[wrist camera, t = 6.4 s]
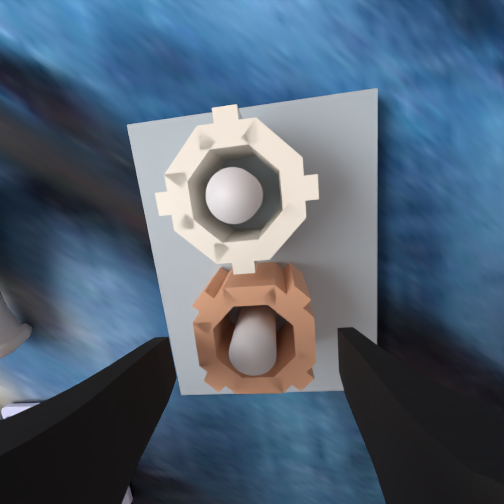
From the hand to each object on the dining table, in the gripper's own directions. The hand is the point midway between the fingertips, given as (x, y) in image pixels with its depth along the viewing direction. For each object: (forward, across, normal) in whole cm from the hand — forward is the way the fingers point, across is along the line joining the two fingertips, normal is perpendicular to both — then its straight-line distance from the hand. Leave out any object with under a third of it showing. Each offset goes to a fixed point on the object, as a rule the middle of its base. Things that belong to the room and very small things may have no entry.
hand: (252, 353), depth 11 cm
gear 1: (+4, 0, -6) cm, 8 cm away
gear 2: (+4, 0, 0) cm, 4 cm away
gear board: (+5, 0, -2) cm, 6 cm away
